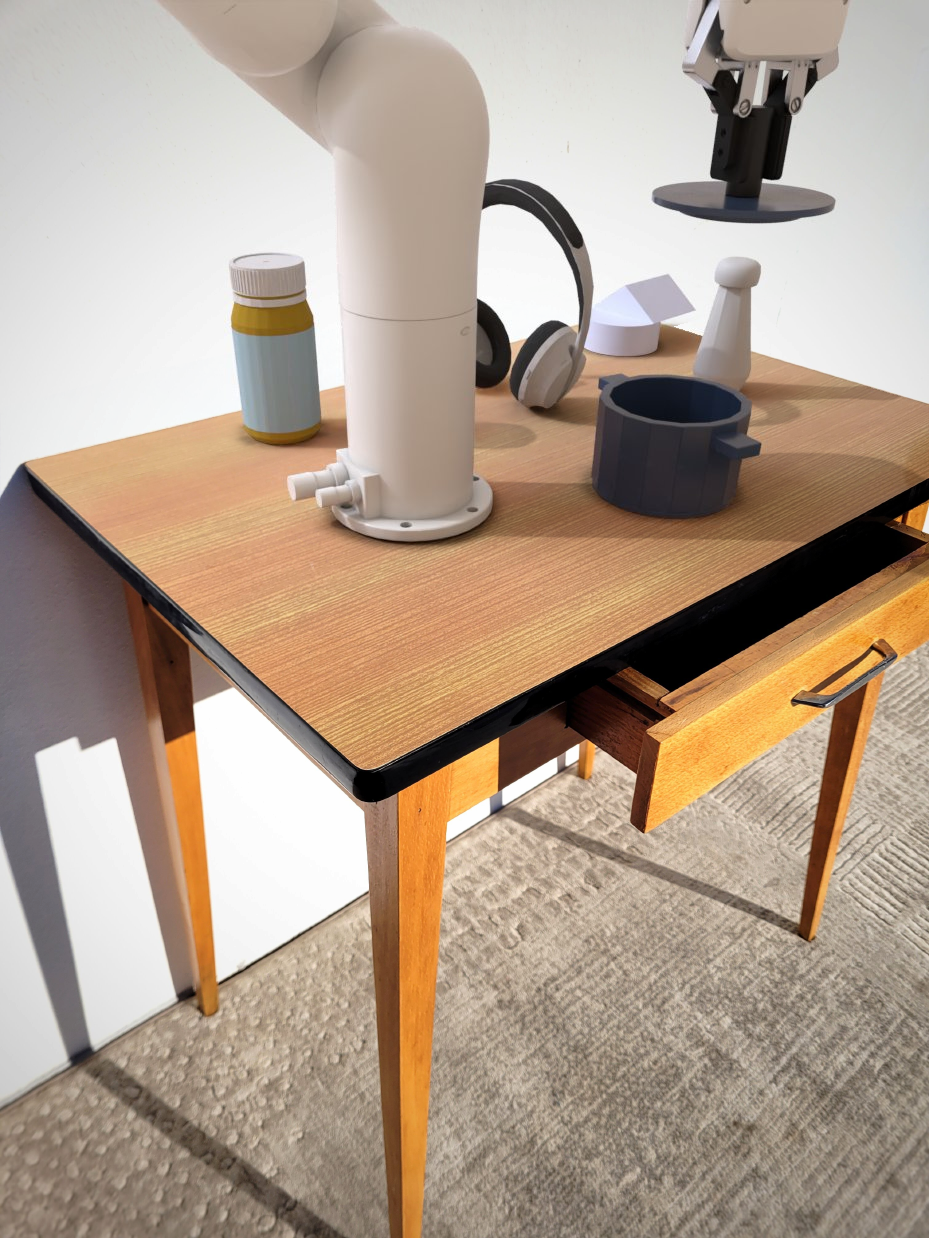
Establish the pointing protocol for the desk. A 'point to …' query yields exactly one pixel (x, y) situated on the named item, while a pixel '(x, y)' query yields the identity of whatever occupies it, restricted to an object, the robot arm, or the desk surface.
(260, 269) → the bottle
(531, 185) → the headphones
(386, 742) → the desk surface
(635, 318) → the wedge on round base
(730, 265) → the salt shaker
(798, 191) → the lid
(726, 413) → the pot
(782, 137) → the robot arm
